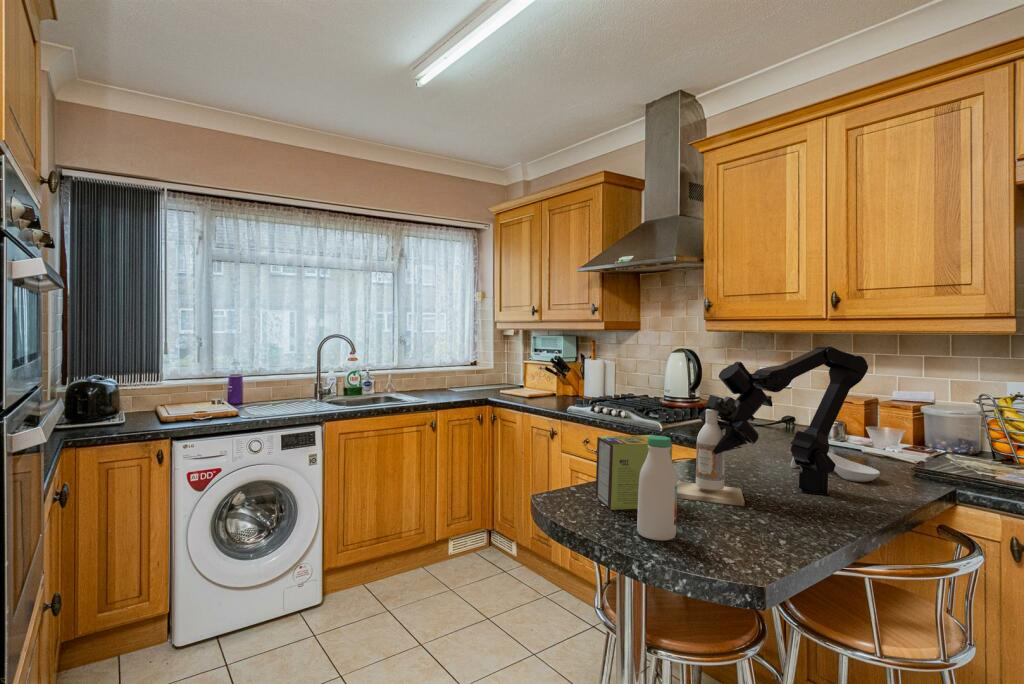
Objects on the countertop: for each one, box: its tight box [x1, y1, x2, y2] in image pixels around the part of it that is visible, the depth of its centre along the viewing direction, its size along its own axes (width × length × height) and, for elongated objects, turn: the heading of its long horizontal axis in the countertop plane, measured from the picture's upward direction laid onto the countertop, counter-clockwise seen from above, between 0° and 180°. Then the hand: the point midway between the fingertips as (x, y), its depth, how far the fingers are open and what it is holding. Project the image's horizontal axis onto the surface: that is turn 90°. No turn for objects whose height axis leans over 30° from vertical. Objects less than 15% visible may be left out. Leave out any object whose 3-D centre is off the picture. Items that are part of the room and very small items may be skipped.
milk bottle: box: [636, 435, 678, 542], centre depth 111 cm, size 8×8×20 cm
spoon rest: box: [790, 451, 881, 483], centre depth 165 cm, size 24×12×7 cm, turn 42°
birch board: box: [677, 480, 746, 507], centre depth 140 cm, size 16×12×1 cm
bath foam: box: [695, 408, 726, 490], centre depth 140 cm, size 7×7×20 cm
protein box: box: [595, 434, 673, 511], centre depth 132 cm, size 10×15×16 cm
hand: (706, 449), depth 140 cm, fingers closed on bath foam, 7 cm apart
